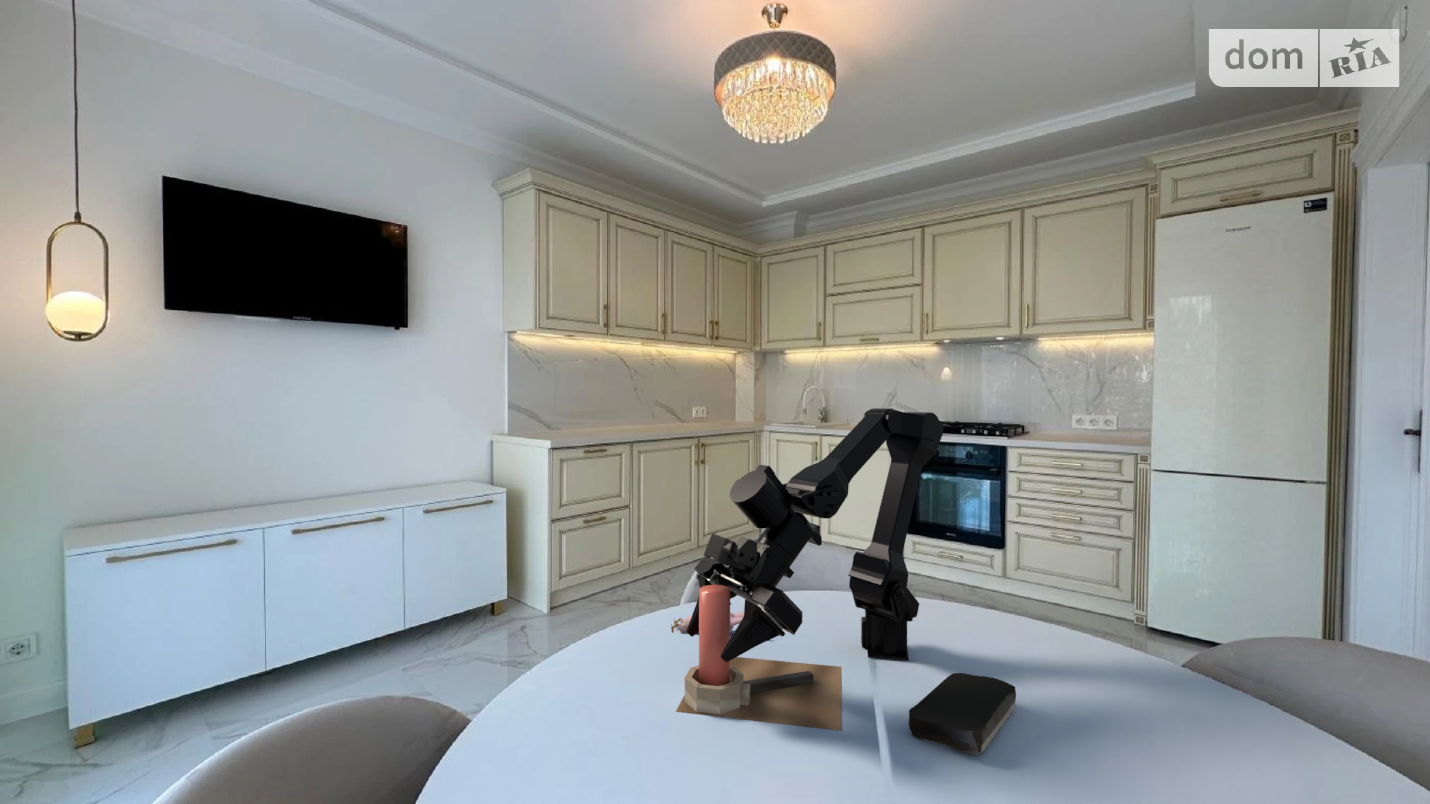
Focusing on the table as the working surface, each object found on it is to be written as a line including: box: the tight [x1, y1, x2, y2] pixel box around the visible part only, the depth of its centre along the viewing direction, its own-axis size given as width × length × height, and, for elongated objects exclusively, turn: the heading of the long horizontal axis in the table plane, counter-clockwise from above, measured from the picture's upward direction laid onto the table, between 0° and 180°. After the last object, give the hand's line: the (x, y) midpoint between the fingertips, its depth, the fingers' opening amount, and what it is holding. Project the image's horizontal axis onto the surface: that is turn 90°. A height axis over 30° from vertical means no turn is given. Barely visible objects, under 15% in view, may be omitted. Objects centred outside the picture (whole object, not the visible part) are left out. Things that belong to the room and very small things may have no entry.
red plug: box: [698, 585, 731, 686], centre depth 74 cm, size 4×4×14 cm
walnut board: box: [675, 656, 843, 732], centre depth 78 cm, size 20×17×4 cm
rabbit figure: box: [670, 611, 744, 635], centre depth 99 cm, size 6×6×15 cm
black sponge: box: [908, 672, 1017, 755], centre depth 71 cm, size 16×8×4 cm, turn 138°
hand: (705, 646), depth 74 cm, fingers open, 9 cm apart
